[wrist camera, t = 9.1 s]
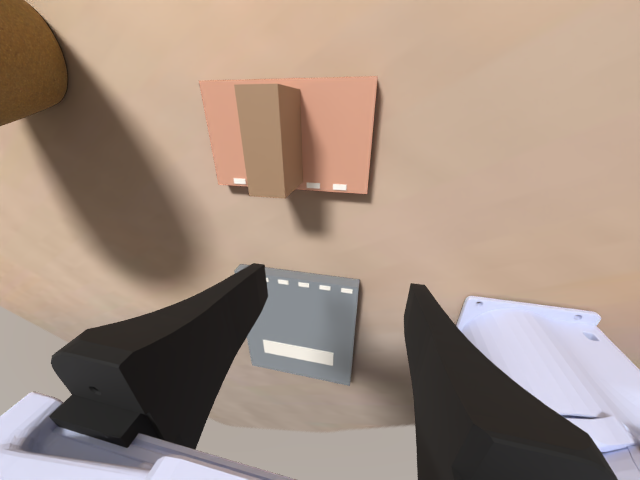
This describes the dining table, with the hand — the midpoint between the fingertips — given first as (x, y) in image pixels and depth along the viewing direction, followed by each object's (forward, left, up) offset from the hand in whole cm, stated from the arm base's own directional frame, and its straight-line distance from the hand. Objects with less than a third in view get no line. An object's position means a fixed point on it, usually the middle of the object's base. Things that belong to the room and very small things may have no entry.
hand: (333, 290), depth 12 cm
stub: (+5, -6, -9) cm, 12 cm away
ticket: (+5, +13, -9) cm, 17 cm away
